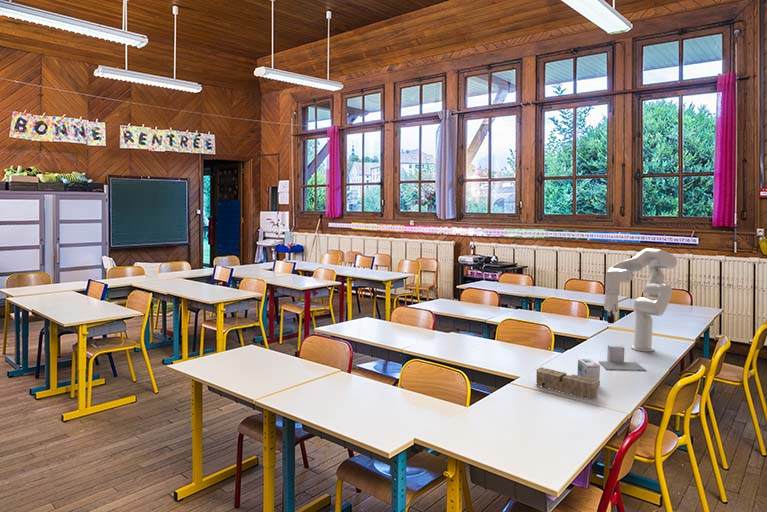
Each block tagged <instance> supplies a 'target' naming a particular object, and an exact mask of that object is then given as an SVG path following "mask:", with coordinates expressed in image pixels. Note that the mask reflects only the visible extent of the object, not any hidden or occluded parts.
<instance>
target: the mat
mask: <svg viewBox="0 0 767 512" xmlns="http://www.w3.org/2000/svg"><path fill="white" fill-rule="evenodd" d="M598 364H599V365H600V366H602V367H603V366H604V367H605V368H606V369H607V370H606V369H605V368H604V367H603V368H604V369H605V370H606V371H626V370H642V371H641V372H646V371H647V369H646V368H645V367H643V366H642V365H640V364H639V363H638V362H636V361H624V362H609V361H608V360H606V361H604V360H602V361H600V360H598Z"/></svg>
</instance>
